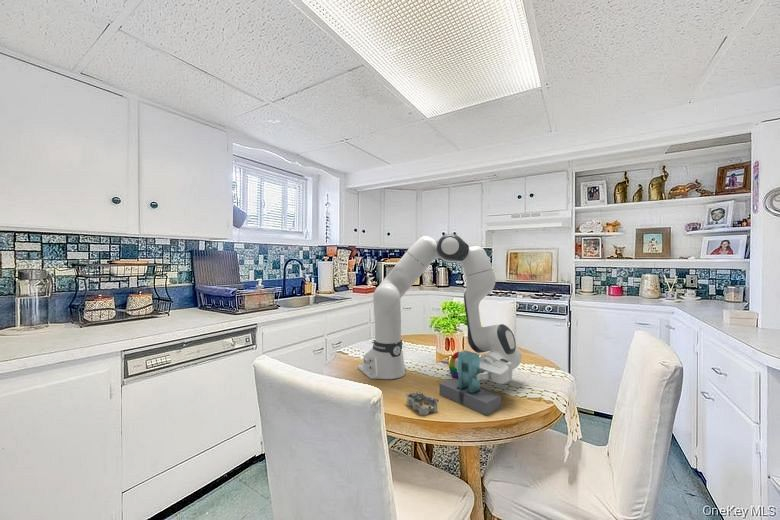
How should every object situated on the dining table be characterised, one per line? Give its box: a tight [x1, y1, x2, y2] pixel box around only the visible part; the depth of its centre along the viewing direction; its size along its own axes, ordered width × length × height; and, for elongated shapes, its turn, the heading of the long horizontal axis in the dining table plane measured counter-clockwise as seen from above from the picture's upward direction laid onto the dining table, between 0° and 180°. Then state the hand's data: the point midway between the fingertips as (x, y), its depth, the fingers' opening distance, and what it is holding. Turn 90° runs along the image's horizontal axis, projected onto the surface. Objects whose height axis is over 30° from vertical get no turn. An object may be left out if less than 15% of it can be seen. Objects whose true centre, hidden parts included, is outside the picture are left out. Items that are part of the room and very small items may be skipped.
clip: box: [457, 350, 481, 395], centre depth 113 cm, size 6×4×15 cm, turn 39°
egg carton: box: [405, 391, 440, 416], centre depth 109 cm, size 11×8×4 cm
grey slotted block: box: [438, 377, 502, 416], centre depth 113 cm, size 20×8×4 cm, turn 38°
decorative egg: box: [448, 351, 459, 379], centre depth 136 cm, size 8×8×10 cm
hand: (467, 374), depth 113 cm, fingers closed on clip, 6 cm apart
